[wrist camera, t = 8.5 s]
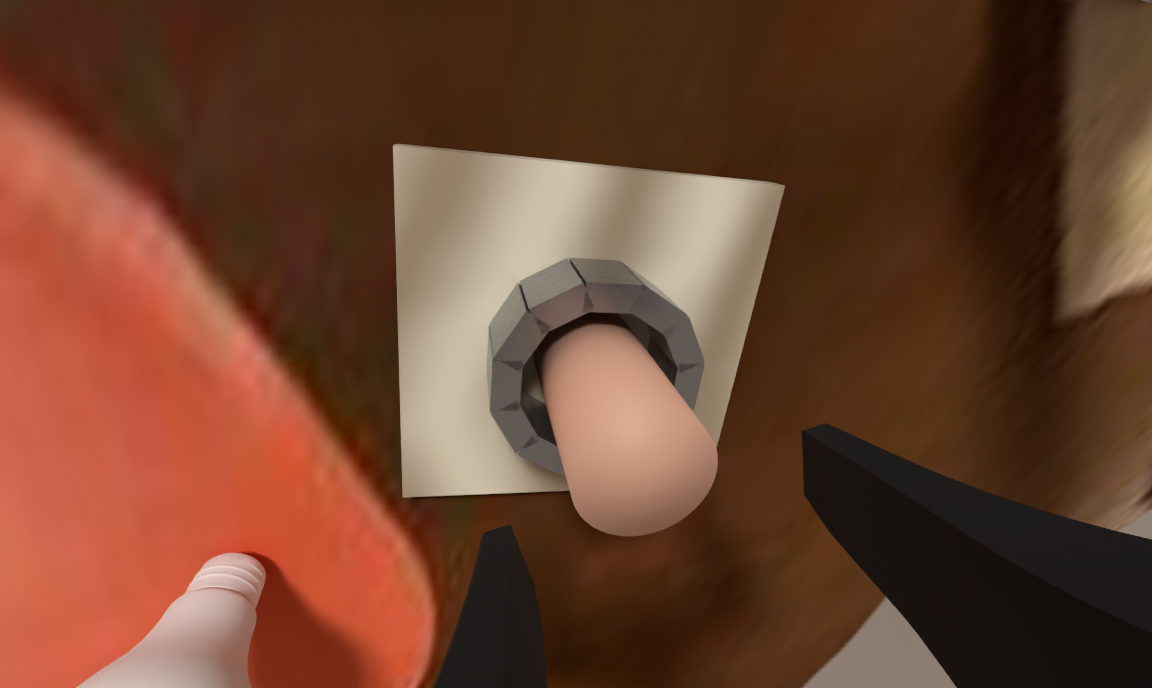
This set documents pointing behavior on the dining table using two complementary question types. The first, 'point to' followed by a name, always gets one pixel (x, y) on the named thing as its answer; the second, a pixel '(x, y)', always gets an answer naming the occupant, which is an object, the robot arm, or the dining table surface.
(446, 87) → the dining table surface
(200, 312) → the dining table surface
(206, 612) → the lightbulb
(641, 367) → the peg
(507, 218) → the socket board
